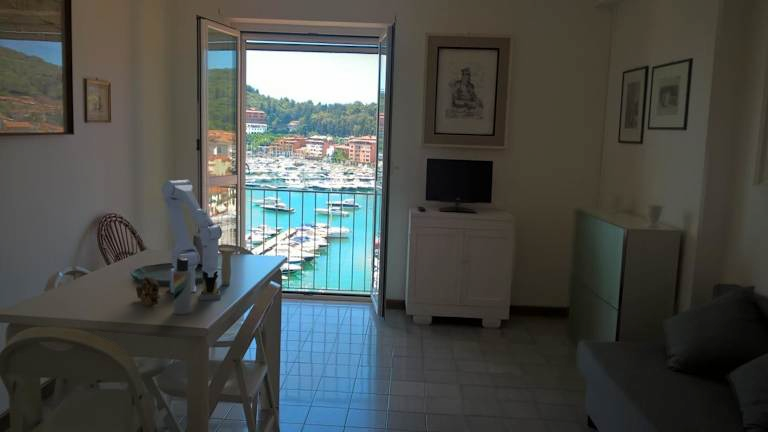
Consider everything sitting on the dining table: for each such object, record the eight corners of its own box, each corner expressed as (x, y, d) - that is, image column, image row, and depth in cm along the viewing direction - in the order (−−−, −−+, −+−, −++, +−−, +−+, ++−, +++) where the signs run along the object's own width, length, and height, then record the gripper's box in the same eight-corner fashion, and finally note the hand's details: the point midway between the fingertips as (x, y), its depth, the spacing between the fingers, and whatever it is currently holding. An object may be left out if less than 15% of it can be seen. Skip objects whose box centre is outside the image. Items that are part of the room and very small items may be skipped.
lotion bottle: (184, 309, 220) (185, 254, 217) (193, 312, 217) (194, 257, 214) (170, 312, 216) (170, 257, 213) (179, 316, 213) (179, 260, 210)
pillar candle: (193, 260, 294) (193, 229, 292) (214, 259, 297) (214, 229, 294) (193, 265, 285) (193, 233, 282) (214, 264, 288) (215, 233, 285)
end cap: (199, 299, 232) (199, 294, 232) (199, 295, 237) (199, 290, 237) (220, 299, 235) (220, 294, 234) (219, 295, 240) (219, 290, 239)
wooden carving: (131, 300, 227) (131, 274, 226) (143, 298, 230) (143, 272, 229) (152, 311, 216) (152, 284, 215) (164, 309, 219) (164, 282, 218)
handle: (228, 286, 252) (229, 251, 250) (215, 284, 254) (216, 249, 252) (235, 284, 257) (236, 249, 254) (222, 282, 259) (223, 247, 257)
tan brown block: (203, 297, 234) (203, 282, 233) (202, 295, 237) (203, 280, 236) (216, 296, 235) (216, 281, 234) (216, 294, 238) (216, 279, 237)
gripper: (222, 260, 228) (221, 295, 230) (220, 252, 242) (219, 285, 244) (202, 260, 226) (202, 296, 228) (201, 252, 240) (201, 286, 242)
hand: (209, 290), depth 236 cm, fingers closed on tan brown block, 3 cm apart
